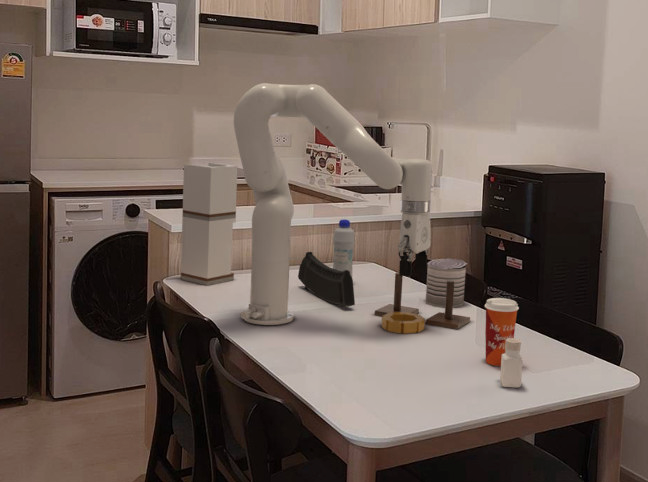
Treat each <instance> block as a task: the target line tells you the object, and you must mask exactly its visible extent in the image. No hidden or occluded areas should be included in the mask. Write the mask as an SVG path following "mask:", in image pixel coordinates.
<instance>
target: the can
mask: <svg viewBox="0 0 648 482" xmlns="http://www.w3.org/2000/svg"><path fill="white" fill-rule="evenodd" d="M467 265H468V263H467V262H466V261H465V260H463V259H455V258H439V259H438V258H437V259H432V260H430V261H427V269H426V270H427V272H426V273H427V274H426V287H425V302H426V304H427V305H430V306H433V307H439V308H445V303H446V286H447V281H448V280H452V281H454V297H453V308H459V307H461V306H464V304H465V303H464V302H465V287H466V285H465V284H466V272H467V271H466V269H467V267H466V266H467Z"/></svg>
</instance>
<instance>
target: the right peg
mask: <svg viewBox="0 0 648 482" xmlns="http://www.w3.org/2000/svg"><path fill="white" fill-rule="evenodd" d="M453 297H454V281H452V280H448V281H447V286H446V303H445V307H444V308H445V309H444V312H441V311H438V312H437V313H435V314H433V315H432V316H430V317H428V318H425V325H430V326H436V327H442V328H448V329H453V330H460V329H461V328H462V327H465V326H466V325H467V324H469V323H470V322H471V317H470V316H464V315H459V314H453V312H454V311H453V310H454V307H453Z"/></svg>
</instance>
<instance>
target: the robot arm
mask: <svg viewBox="0 0 648 482" xmlns="http://www.w3.org/2000/svg"><path fill="white" fill-rule="evenodd" d="M271 117H273V118H274V117H275V118H276V117H277V118H279V117H281V118H286V117H287V118H305V119H306V120H307V121H308V122H309V123H310V124H311V125H312V126H313V127H315V128H316V129H317V130H318V131H319V132H320V133H321V134H322V135H323V136H324V137H325V138H326V139H327V140H328V141H329V142H330V143H331V144H332V145H333V146H335V148H336V149H338V150H339V152H341V153H342V154H343V155H345V156H346V157H347V158H348V159H349V160H350V161H351V162H352V163H354V165H355V166H356V167H358V168H359V169H360V171H362V172H363V173H364V174H365V175H366V176H367V177H368V178H369V179H370V180H371V181H372V182H373V183H374V184H375V185H377V186H378V187H379V188H381V189H384V190H393V189H395V188H397V187H398V186H399V185H401V196H400V213H401V220H400V231H399V244H398V245H397V251H398V260H399V269H398V273H399V275H400V276H403V277H408V278H410V277H412V272H413V261H412V257H413V254H414V253H415V255H414V257H415V259H414V269H415V270H421V271H426V270H428V264H427V263H428V254H429V248H431V244H432V239H431V238H432V234H431V233H432V232H431V231H432V230H431V229H432V228H431V194H432V169H433V168H432V166H433V165H432V162H431V161H430V160H429V159H425V158H398V157H392V156H391V155H390V153H388V152H387V151H386V150H385V149H384V148H383V147H381V145H379V143H378V142H376V140H375V139H374V138H373V137H372V136H371V135H370V134H369V133H368V131H367V130H366V129H365V128H364V126H363V125H362V124H361V122H359V120H357V118H356V117H354V115H352V114H351V113H350V112H349V111H348V110H347V109H346V108H345V107H344V106H343V105H341V104H340V103H339V101H337V99H335V97H333V96H332V95H331V94H330V93H329V92H328V91H327V89H326V88H324V87H323V86H321V85H319V84H315V83H311V84H310V83H309V84H281V83H269V82H268V83H267V82H261V83H259V84H256V85H254V86H253V87H251V88H249V89H248V90H247V91H246V92H245V93H244V94H243V95H242V96H241V98H240V99H239V101H238V102H237V104H236V106H235V110H234V114H233V129H234V133H235V137H236V139H235V140H236V143H237V147H238V153H239V157H240V162H241V166H242V170H243V176H244V181H245V183H246V184H247V186H248V187H249V188H250V189H251V191H252V195H253V198H254V202H255V206H254V208H253V211H252V215H251V270H250V275H251V276H250V295H249V296H250V300H249V303H248V308H247V309H245V310H242V311H241V312H239V317H240V318H241V319H243V320H244V321H245V322H247V323H250V324H252V325H253V324H254V325H260V326H276V325H277V326H278V325H284V324H288V323H291V322H292V321H293V320H294V313H293V312H291V311H290V310H288V308H289V287H290V286H289V285H290V266H291V265H290V263H291V261H290V260H291V258H290V257H291V229H292V219H293V217H294V212H295V209H294V208H295V207H294V202H293V198H292V194H291V190H290V186H289V181H288V178H287V172H286V169H285V166H284V164H283V161H282V160H281V159H280V158H279V157H278V156H277V155H276V151H275V147H274V144H273V140H272V135H271V132H270V128H269V123H270V122H269V121H270V119H271Z"/></svg>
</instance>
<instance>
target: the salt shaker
mask: <svg viewBox="0 0 648 482" xmlns="http://www.w3.org/2000/svg"><path fill="white" fill-rule="evenodd" d="M521 345H522V341H521V340H520V339H518V338H515V337H514V338H508V339H506V341H505V353H504V354H502V358H501V366H500V373H499V380H500V383H501V386H502V387H504V388H520V387H521V386H522V378H523V377H522V376H523V375H522V374H523V361H524V359H523V356H522V355H521Z"/></svg>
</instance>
